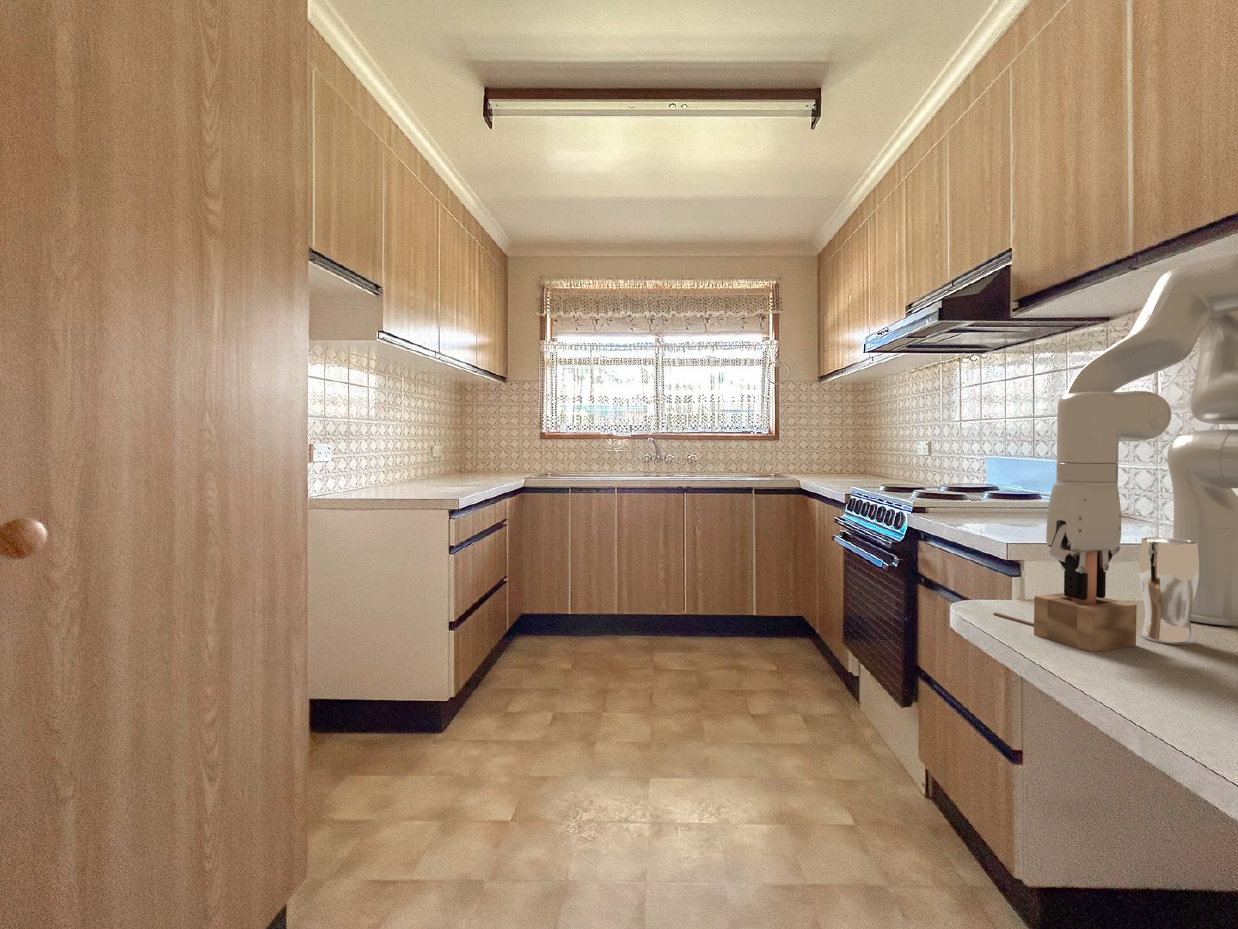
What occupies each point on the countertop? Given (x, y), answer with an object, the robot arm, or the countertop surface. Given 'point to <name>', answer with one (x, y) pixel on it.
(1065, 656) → the countertop surface
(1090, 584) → the dowel
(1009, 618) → the brown thin square rod
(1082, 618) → the wooden block with hole
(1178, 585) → the beer glass
